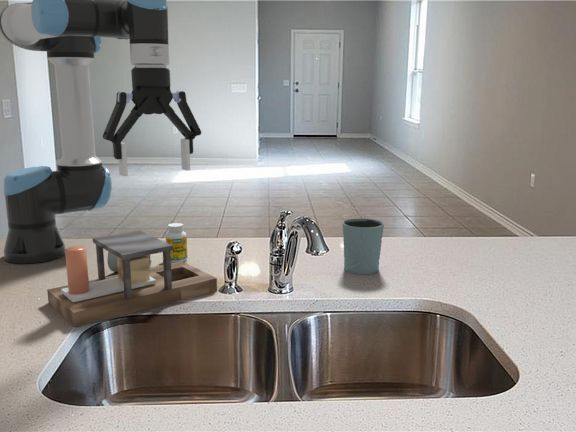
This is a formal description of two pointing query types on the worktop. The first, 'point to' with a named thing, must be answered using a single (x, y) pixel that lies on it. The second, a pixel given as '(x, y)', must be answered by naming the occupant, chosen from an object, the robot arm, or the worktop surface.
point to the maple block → (136, 269)
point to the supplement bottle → (177, 242)
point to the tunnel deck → (169, 281)
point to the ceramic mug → (113, 262)
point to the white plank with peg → (80, 282)
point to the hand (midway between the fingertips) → (155, 172)
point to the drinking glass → (362, 245)
